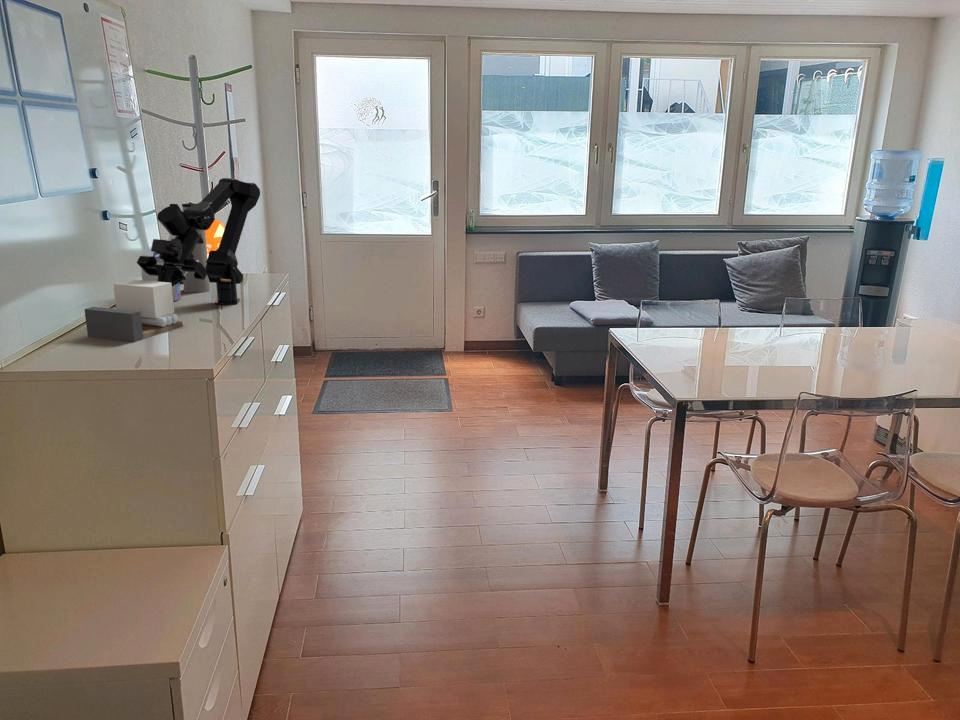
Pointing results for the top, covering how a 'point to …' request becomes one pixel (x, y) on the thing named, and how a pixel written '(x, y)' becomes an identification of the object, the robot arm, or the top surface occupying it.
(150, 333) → the brown wooden plank
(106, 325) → the block
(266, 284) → the top surface
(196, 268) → the robot arm
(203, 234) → the thermos bottle
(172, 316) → the white rectangular box
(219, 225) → the orange juice
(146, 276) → the ink cartridge box
